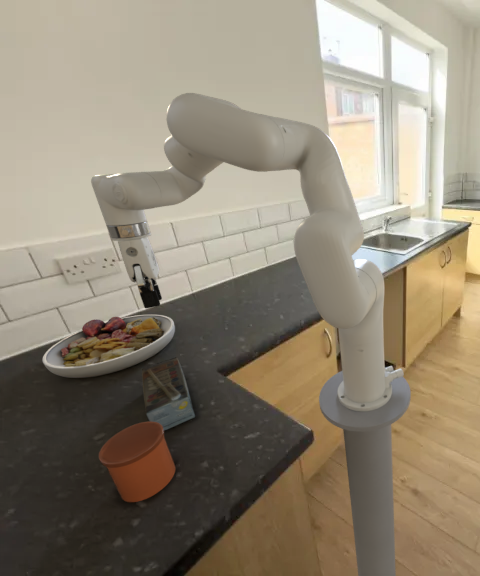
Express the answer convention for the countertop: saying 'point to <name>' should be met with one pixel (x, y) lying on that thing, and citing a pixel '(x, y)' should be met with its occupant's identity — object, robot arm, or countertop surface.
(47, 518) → the countertop surface
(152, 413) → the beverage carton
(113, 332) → the food platter
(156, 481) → the terracotta crock
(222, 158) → the robot arm
